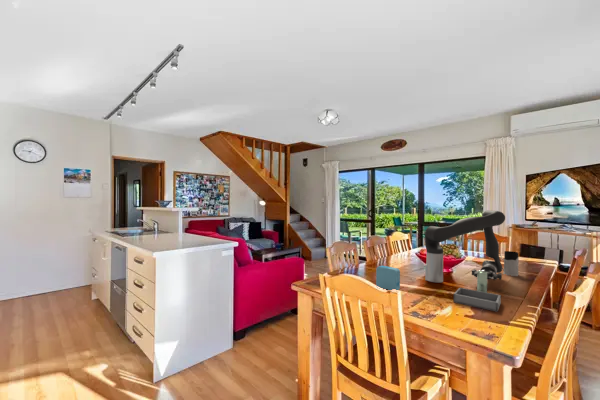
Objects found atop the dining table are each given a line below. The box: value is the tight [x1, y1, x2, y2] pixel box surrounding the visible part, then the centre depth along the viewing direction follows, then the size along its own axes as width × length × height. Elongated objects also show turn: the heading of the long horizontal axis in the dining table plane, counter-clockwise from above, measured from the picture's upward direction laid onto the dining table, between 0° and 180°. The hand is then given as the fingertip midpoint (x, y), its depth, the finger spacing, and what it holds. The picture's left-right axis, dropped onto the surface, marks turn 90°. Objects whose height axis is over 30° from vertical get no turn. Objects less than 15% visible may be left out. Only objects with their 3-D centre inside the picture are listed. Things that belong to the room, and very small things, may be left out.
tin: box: [476, 270, 488, 293], centre depth 148 cm, size 4×4×12 cm
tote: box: [453, 287, 502, 313], centre depth 136 cm, size 18×14×4 cm
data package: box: [375, 265, 401, 291], centre depth 156 cm, size 12×4×12 cm, turn 45°
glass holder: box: [493, 250, 520, 277], centre depth 191 cm, size 9×14×15 cm, turn 57°
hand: (484, 276), depth 156 cm, fingers open, 8 cm apart
